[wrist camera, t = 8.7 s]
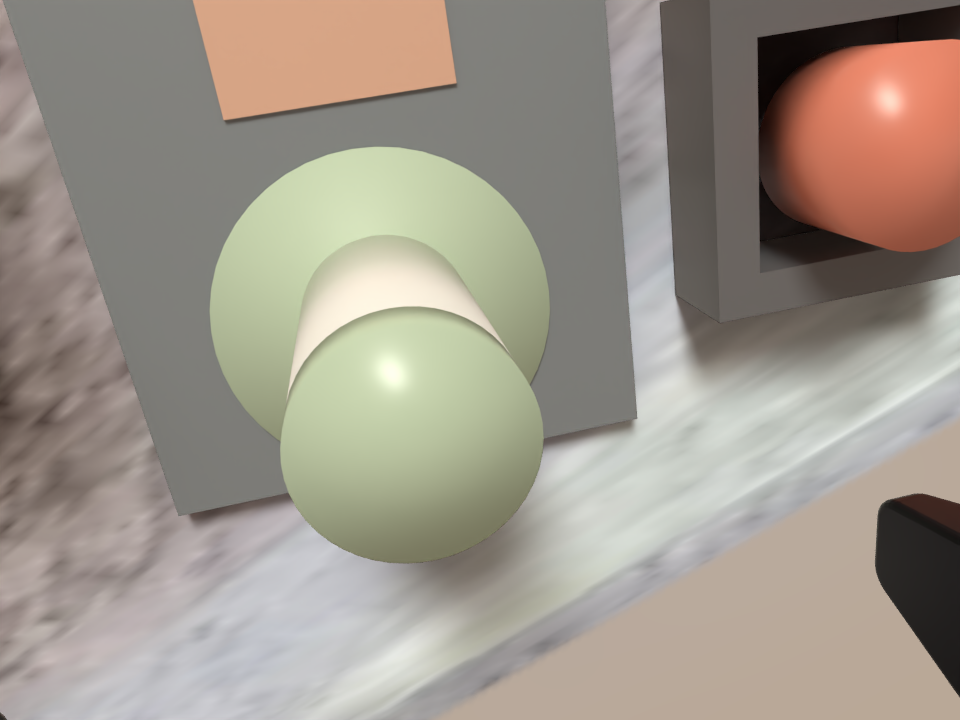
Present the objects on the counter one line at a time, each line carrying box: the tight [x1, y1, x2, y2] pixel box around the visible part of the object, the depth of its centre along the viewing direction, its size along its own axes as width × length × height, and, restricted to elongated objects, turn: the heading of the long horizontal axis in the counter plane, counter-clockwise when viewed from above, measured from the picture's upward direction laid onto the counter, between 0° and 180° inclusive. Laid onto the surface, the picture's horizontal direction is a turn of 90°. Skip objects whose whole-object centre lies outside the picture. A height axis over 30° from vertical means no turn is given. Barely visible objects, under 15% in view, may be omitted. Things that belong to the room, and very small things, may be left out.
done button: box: [758, 39, 960, 252], centre depth 16 cm, size 4×4×3 cm
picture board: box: [3, 0, 637, 516], centre depth 17 cm, size 12×15×1 cm
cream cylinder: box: [280, 235, 544, 563], centre depth 15 cm, size 4×4×7 cm
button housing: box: [660, 0, 960, 323], centre depth 18 cm, size 7×7×2 cm
